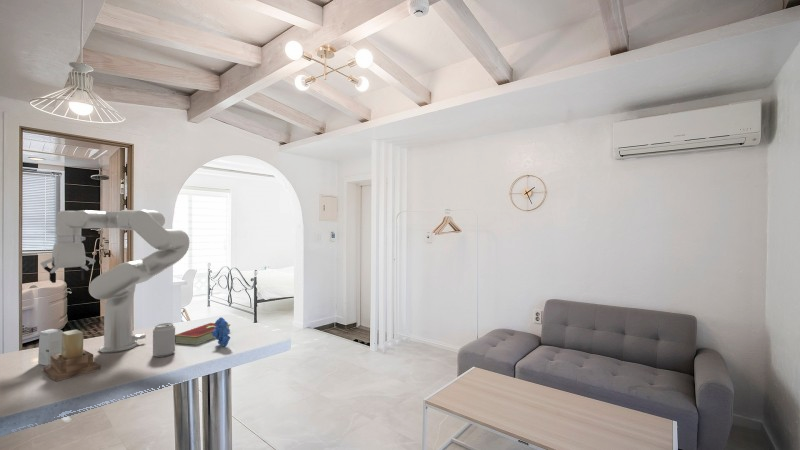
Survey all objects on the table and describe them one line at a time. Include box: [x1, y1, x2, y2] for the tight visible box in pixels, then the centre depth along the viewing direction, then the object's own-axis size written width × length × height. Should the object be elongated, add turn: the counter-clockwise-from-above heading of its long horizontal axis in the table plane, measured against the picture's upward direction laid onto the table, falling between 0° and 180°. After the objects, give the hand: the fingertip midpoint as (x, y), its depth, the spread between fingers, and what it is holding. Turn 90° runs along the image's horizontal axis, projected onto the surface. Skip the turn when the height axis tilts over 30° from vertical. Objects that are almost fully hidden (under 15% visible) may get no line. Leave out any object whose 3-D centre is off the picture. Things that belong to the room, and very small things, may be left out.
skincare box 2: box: [61, 329, 84, 360], centre depth 129 cm, size 6×4×12 cm
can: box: [152, 322, 176, 358], centre depth 146 cm, size 8×8×12 cm
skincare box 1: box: [37, 328, 64, 367], centre depth 136 cm, size 6×4×12 cm
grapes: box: [212, 316, 231, 347], centre depth 156 cm, size 12×7×12 cm, turn 49°
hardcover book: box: [175, 322, 231, 346], centre depth 169 cm, size 12×21×4 cm, turn 166°
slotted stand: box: [42, 348, 102, 382], centre depth 129 cm, size 12×14×6 cm
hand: (69, 281), depth 152 cm, fingers open, 9 cm apart
